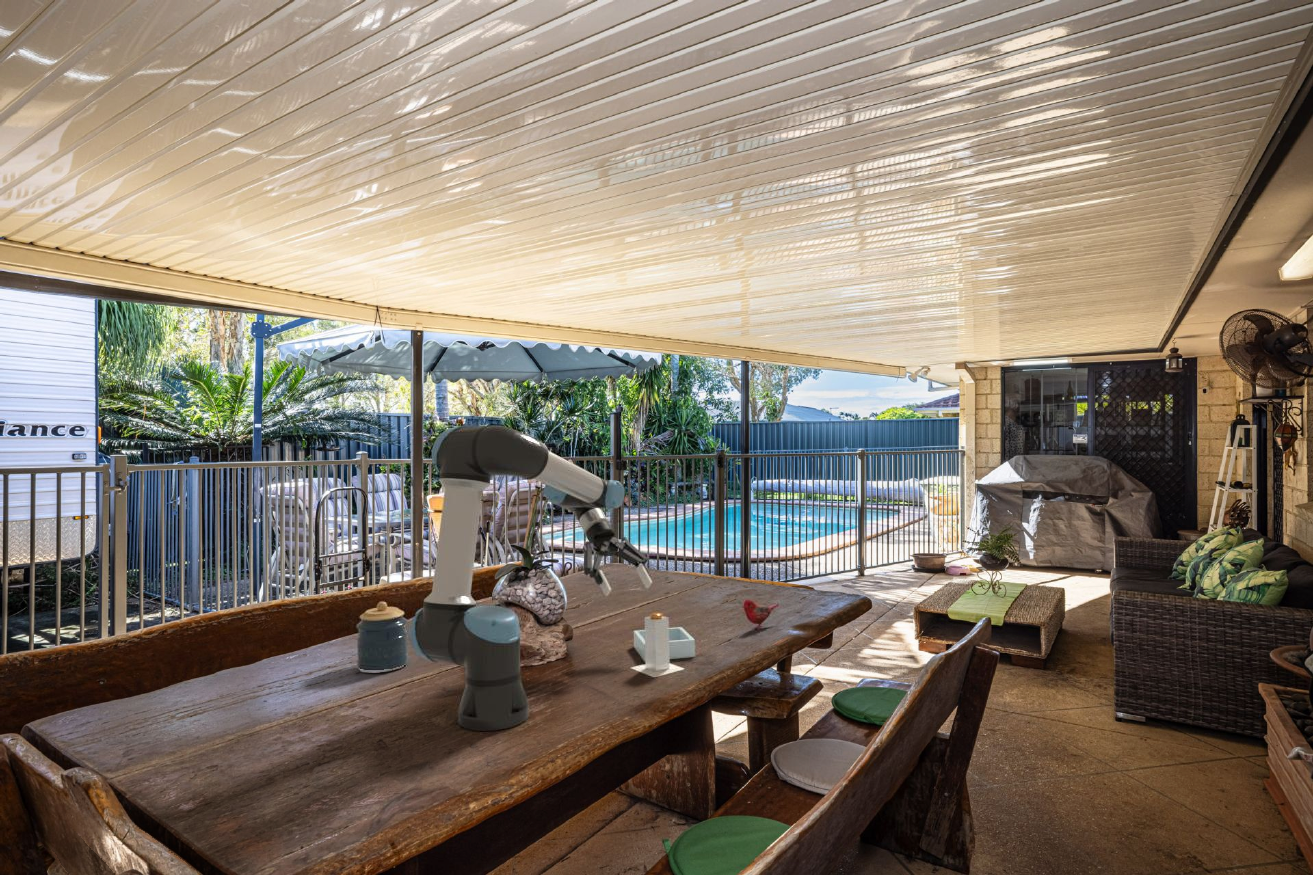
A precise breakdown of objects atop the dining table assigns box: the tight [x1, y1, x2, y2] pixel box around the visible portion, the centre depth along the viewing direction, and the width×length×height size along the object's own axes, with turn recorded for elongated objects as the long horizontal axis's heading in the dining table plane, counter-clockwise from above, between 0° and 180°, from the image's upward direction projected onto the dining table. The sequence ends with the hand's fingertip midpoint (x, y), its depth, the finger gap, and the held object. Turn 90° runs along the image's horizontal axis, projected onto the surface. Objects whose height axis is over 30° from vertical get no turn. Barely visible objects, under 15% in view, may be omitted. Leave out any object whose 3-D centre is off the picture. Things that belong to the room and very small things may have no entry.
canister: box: [355, 601, 409, 670], centre depth 197 cm, size 13×13×18 cm
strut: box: [644, 612, 671, 672], centre depth 186 cm, size 4×4×14 cm
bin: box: [633, 626, 696, 662], centre depth 201 cm, size 14×14×6 cm
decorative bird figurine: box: [742, 599, 779, 630], centre depth 230 cm, size 3×18×10 cm, turn 132°
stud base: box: [630, 663, 685, 678], centre depth 186 cm, size 10×10×6 cm
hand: (629, 589), depth 196 cm, fingers open, 13 cm apart
